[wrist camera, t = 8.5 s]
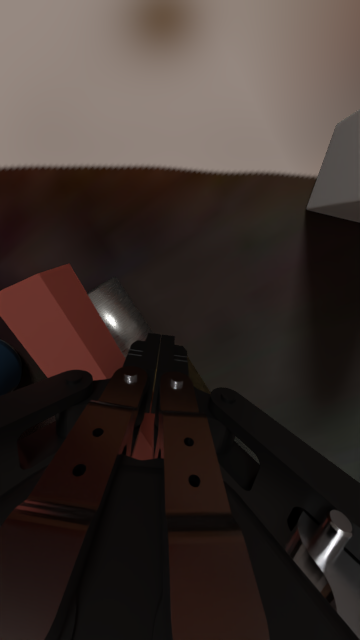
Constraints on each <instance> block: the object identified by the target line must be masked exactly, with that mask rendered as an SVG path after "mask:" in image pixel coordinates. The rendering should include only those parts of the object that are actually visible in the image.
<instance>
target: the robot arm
mask: <svg viewBox="0 0 360 640" xmlns="http://www.w3.org/2000/svg"><path fill="white" fill-rule="evenodd" d="M160 338H161V344H160ZM159 345H160V350H159ZM158 352H159V357H158ZM157 360H158V364H157ZM156 367H157V371H156ZM155 373H156V378H155ZM154 380H155V385H154ZM153 386H154V393H153ZM152 393H153V400H152ZM151 400H152V407H151V413H153V414H155V418H154V425H153V444H152V459H149V460H138V459H135V458H133V455H134V451H135V448H136V444H137V441H138V437H139V434H140V430H141V425H142V422H143V419H144V415H145V413H150V406H151ZM54 415H55V420H56V421H55V422H53V423H51V424H49V425H47V426H45V427H43V428H41V429H39V430H38V431H36V432H34V433H32V434H30V435H28V436H26V437H24V438H22V439H21V440H19V441H17V440H18V438H19V436H20V435H21V434H22V433H23V432H24V431H25V430H27V429H28V428H30V427H32V426H34V425H36V424H38V423H40V422H42V421H44V420H46V419H48V418H50V417H52V416H54ZM235 436H236V437H238V438H239V439H240V440H241V441H242V442H243V443H244V444H245V445H246V446H247V447H248V448H250V449H251V450H252V451H253V452H254V453H255V454H256V456H257V457H258V459H259V462H260V465H259V464H258V463H257V462H256V461H255V460H254V459H253V458H252V457H251V456H250V455H249V454H248V453H247V452H245V451H244V450H243V449H242V448H241V447H240V446H239V445H238V444H237V443H236V442H235V441H234V439H235ZM0 640H360V483H359V482H357V481H356V480H355V479H353V478H352V477H351V476H349V475H348V474H346V473H345V472H344V471H342V470H341V469H340V468H338V467H337V466H336V465H334V464H333V463H332V462H330V461H329V460H328V459H326V458H325V457H324V456H322V455H321V454H320V453H318V452H317V451H316V450H314V449H313V448H311V447H310V446H309V445H307V444H306V443H305V442H303V441H302V440H301V439H299V438H298V437H297V436H295V435H294V434H293V433H291V432H290V431H289V430H287V429H286V428H285V427H283V426H282V425H280V424H279V423H278V422H276V421H275V420H274V419H272V418H271V417H270V416H268V415H267V414H266V413H264V412H263V411H262V410H260V409H259V408H258V407H256V406H255V405H254V404H252V403H251V402H249V401H248V400H247V399H245V398H244V397H243V396H241V395H240V394H239V393H237V392H236V391H234V390H231V389H228V388H216V389H214V390H213V391H212V392H211V394H209V393H206V392H203V391H201V390H199V389H197V388H195V387H194V386H193V382H192V380H191V378H190V377H189V371H188V359H187V351H186V349H185V348H184V347H183V346H179V345H174V336H168V335H162V337H161V335H160V334H153V333H148V335H147V338H146V341H140V340H137V341H135V342H134V343H132V344H131V347H130V350H129V352H128V354H127V357H126V359H125V362H124V364H123V367H122V368H119V369H118V370H116V371H115V373H114V374H113V376H112V378H109V379H103V380H93V377H92V375H91V374H90V373H89V372H87V371H84V370H69V371H65V372H62V373H60V374H57V375H54V376H52V377H49V378H47V379H44V380H41V381H39V382H36V383H33V384H31V385H28V386H25V387H23V388H20V389H17V390H15V391H12V392H9V393H7V394H4V395H1V396H0Z"/></svg>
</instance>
